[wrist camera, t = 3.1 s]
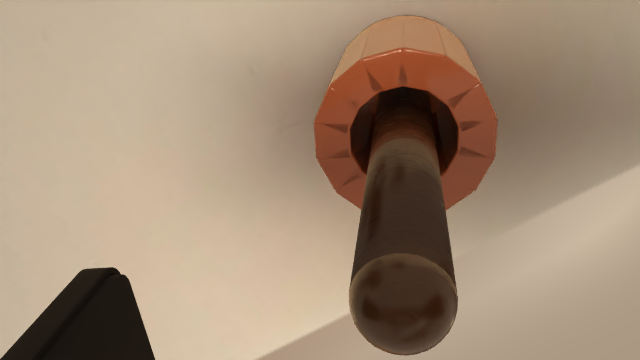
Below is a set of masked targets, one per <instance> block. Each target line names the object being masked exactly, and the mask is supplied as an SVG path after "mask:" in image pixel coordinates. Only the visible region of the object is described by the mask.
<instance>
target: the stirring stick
mask: <svg viewBox="0 0 640 360" xmlns="http://www.w3.org/2000/svg"><path fill="white" fill-rule="evenodd" d="M457 302H458V296H457V289H456V282H455V275H454V268H453V261H452V254H451V246H450V239H449V232H448V225H447V218H446V211H445V204H444V197H443V190H442V183H441V176H440V169H439V161H438V154H437V147H436V140H435V133H434V126H433V119H432V112H431V105H430V98H429V92H428V91H424V90H419V89H413V88H408V87H399V88H395V89H391V90H387V91H383V92H379V97H378V104H377V111H376V117H375V124H374V130H373V137H372V144H371V150H370V157H369V164H368V170H367V177H366V184H365V190H364V197H363V203H362V210H361V217H360V223H359V230H358V237H357V243H356V250H355V257H354V263H353V270H352V276H351V283H350V290H349V306H350V312H351V315H352V317H353V320H354V323H355V325H356V327H357V328H358V330H359V331H360V333H361V334H362V335H363V336H364V337H365V338H366V340H367V341H368V342H370V343H371V344H372V345H374V346H375V347H377V348H379V349H381V350H383V351H385V352H388V353H391V354H396V355H414V354H418V353H421V352H425V351H427V350H429V349H431V348H432V347H434V346H436V345H437V344H438V343H439V342H441V341H442V339H443V338H444V337H445V336H446V335H447V334H448V332H449V331H450V329H451V327H452V325H453V323H454V320H455V317H456V313H457Z"/></svg>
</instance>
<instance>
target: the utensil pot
mask: <svg viewBox="0 0 640 360" xmlns="http://www.w3.org/2000/svg"><path fill="white" fill-rule="evenodd" d="M399 87H408V88H413V89H419V90H424V91H428V92H429V98H430V105H431V112H432V119H433V126H434V133H435V140H436V147H437V154H438V161H439V169H440V176H441V183H442V190H443V197H444V204H445V211H446V210H447V209H449V208H450V207H452V206H453V205H455V204H456V203H457V202H459V201H460V200H462V199H463V198H465V197H466V196H468V195H469V194H471V193H472V192H473V191H475V190H476V189H477V187H478V185H479V184H480V182H481V180H482V179H483V177H484V175H485V174H486V172H487V170H488V169H489V167H490V165H491V164H492V162H493V160H494V157H495V152H496V137H497V122H498V119H497V115H496V113H495V111H494V109H493V107H492V105H491V102H490V100H489V98H488V96H487V94H486V92H485V89H484V87H483V85H482V83H481V81H480V79H479V77H478V75H477V72H476V70H475V68H474V66H473V64H472V62H471V60H470V58H469V56H468V54H467V52H466V49H465V47H464V45H463V43H462V42H461V41H460V40H459V39H458V38H457V37H456V36H455V35H454V34H453V33H452V32H451V31H449V30H448V29H447V28H445V27H444V26H443V25H441V24H439V23H437V22H435V21H432V20H430V19H427V18H423V17H418V16H409V15H406V16H395V17H390V18H387V19H384V20H381V21H378V22H376V23H374V24H372V25H370V26H369V27H368V28H366V29H365V30H363V31H362V32H361V33H360V34H359V35H358V36H357V37H356V38H355V39H354V40H353V41H352V42H351V43H350V44H349V45H348V47H347V48H346V50H345V52H344V54H343V56H342V58H341V61H340V63H339V65H338V67H337V69H336V71H335V73H334V76H333V78H332V80H331V82H330V84H329V86H328V89H327V91H326V93H325V96H324V98H323V100H322V103H321V105H320V108H319V110H318V112H317V115H316V117H315V120H314V134H315V148H316V158H317V159H318V162H319V164H320V166H321V167H322V169H323V171H324V173H325V174H326V176H327V178H328V179H329V181H330V183H331V184H332V186H333V188H334V189H335V190H336V192H337V193H338V194H340V195H341V196H342V197H344V198H345V199H347V200H348V201H350V202H351V203H353V204H354V205H355V206H357V207H358V208H360V209H361V210H362V203H363V197H364V190H365V184H366V177H367V170H368V164H369V157H370V150H371V144H372V137H373V130H374V124H375V117H376V111H377V104H378V97H379V92H383V91H387V90H391V89H395V88H399Z"/></svg>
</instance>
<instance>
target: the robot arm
mask: <svg viewBox="0 0 640 360" xmlns="http://www.w3.org/2000/svg"><path fill="white" fill-rule="evenodd" d="M0 360H155V358H154V355H153V352H152V349H151V345H150V342H149V339H148V336H147V333H146V330H145V327H144V324H143V321H142V318H141V315H140V312H139V309H138V306H137V303H136V300H135V297H134V294H133V291H132V288H131V284H130V282H129V279H128V278H127V277H126V276H125V275H121V274H120V272H119V271H118V270H117V269H116V268H113V267H111V268H93V269H84V270H82V271H80V272H79V273H78V274H77V275H76V276H75V278H74V279H73V280H72V281H71V282H70V283H69V284H68V285H67V286H66V287H65V289H64V290H63V291H62V292H61V293H60V294H59V295H58V296H57V297H56V298H55V300H54V301H53V302H52V303H51V304H50V305H49V306H48V307H47V308H46V309H45V311H44V312H43V313H42V314H41V315H40V316H39V317H38V318H37V319H36V320H35V322H34V323H33V324H32V325H31V326H30V327H29V328H28V329H27V330H26V332H25V333H24V334H23V335H22V336H21V337H20V338H19V339H18V340H17V341H16V343H15V344H14V345H13V346H12V347H11V348H10V349H9V350H8V351H7V352H6V354H5V355H4V356H3V357H2V358H1V359H0Z"/></svg>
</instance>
